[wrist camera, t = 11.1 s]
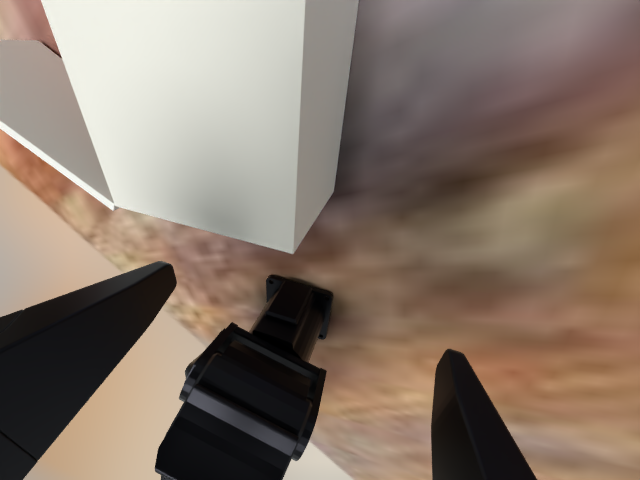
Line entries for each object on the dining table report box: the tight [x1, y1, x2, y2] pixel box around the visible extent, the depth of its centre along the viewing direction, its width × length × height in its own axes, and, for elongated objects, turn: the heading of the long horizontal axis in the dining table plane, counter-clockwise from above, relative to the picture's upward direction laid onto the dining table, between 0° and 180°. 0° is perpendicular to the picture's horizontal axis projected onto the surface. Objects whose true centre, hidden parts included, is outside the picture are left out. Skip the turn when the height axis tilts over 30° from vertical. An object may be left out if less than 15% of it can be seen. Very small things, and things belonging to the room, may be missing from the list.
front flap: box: [0, 40, 120, 211], centre depth 18 cm, size 14×1×12 cm, turn 54°
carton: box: [41, 0, 359, 254], centre depth 15 cm, size 14×11×8 cm
